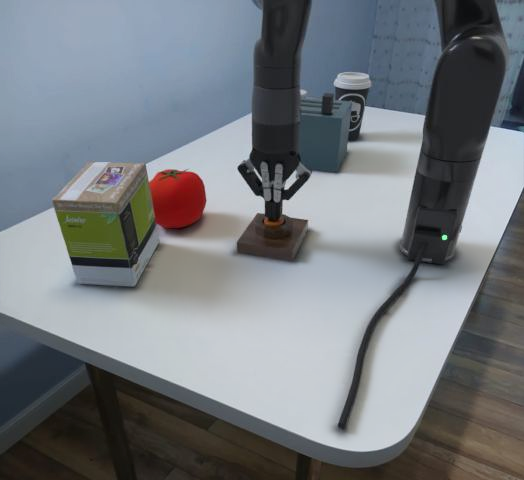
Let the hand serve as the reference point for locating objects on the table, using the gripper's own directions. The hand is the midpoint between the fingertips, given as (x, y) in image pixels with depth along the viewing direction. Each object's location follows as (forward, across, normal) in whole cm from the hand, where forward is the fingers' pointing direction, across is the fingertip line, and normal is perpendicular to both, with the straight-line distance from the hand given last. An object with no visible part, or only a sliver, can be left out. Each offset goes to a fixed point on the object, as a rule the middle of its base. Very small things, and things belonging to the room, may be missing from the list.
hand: (273, 219), depth 88 cm
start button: (+2, 0, 0) cm, 2 cm away
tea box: (+4, -23, -15) cm, 28 cm away
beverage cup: (+5, -13, +67) cm, 68 cm away
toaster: (+4, -3, +43) cm, 43 cm away
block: (+4, 0, 0) cm, 4 cm away
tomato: (+5, -20, +2) cm, 20 cm away
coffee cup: (+5, +3, +62) cm, 62 cm away
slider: (-8, +1, +38) cm, 39 cm away
